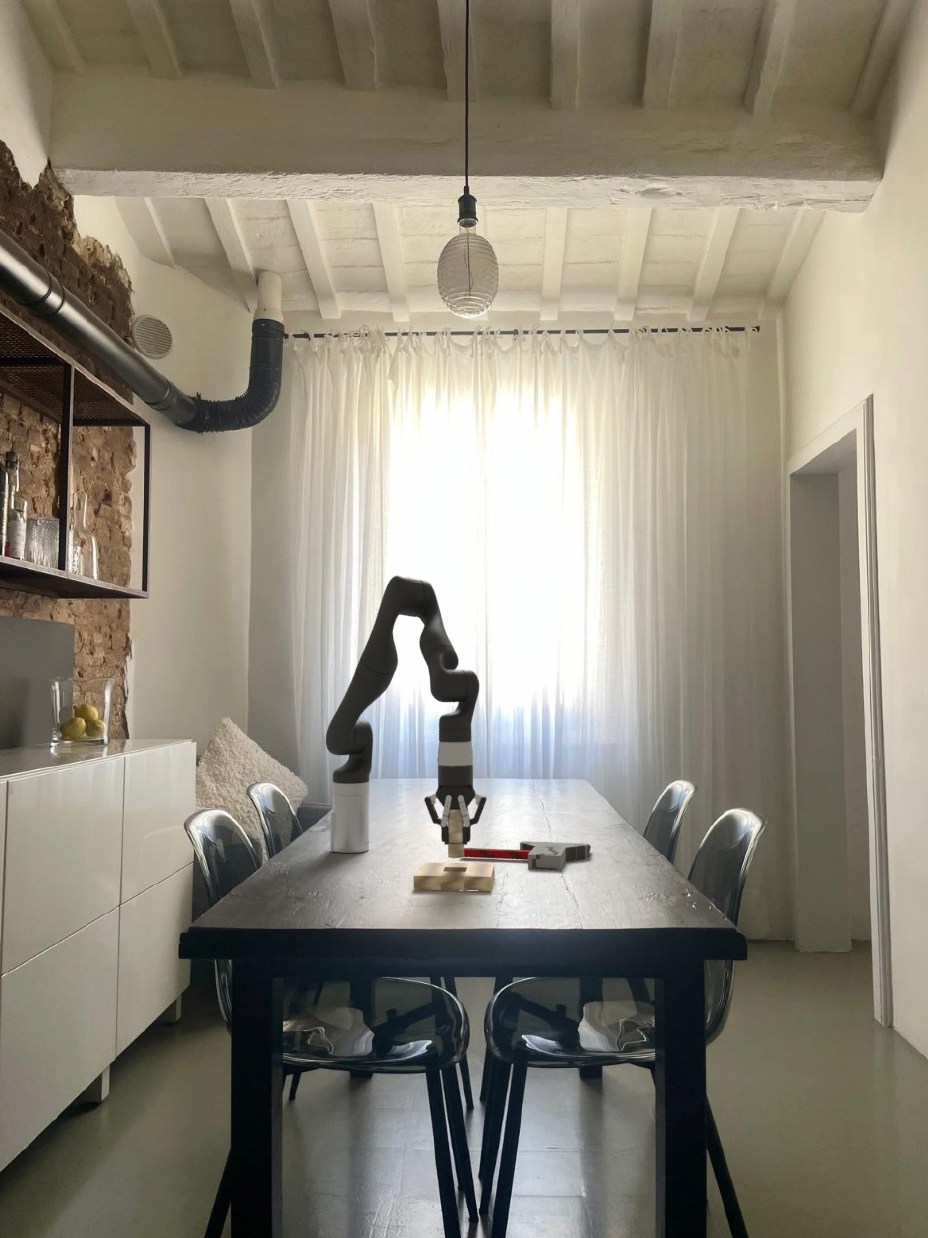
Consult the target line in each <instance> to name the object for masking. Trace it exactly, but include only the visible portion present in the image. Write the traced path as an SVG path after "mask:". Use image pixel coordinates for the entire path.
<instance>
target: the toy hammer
mask: <svg viewBox="0 0 928 1238" xmlns="http://www.w3.org/2000/svg"><path fill="white" fill-rule="evenodd" d="M591 849H592V845H591V844H590V843H582V842H581V843H579V842H578V843H577V842H556V841H555V842H553V841H552V842H551V841H548V842H547V841H527V840H526V841H525V840H524V841H520V842H519V849H503V848H480V847H479V848H477V847H476V848H475V847H464V857H463V858H477V859H479V858H481V859H502V860H503V859H505V860H522V861H525V860H527V869H528V870H538V869H540V870H541V871H561V870H562V869H563V867H564V866H565V864H566V863H567V862H574V861H575V862H576V861H583V860H588V859H589V857H590V852H591ZM565 862H566V863H565Z"/></svg>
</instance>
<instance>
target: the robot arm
mask: <svg viewBox="0 0 928 1238" xmlns="http://www.w3.org/2000/svg"><path fill="white" fill-rule="evenodd" d="M399 615H401V616H405V617H410V618H411V617H412V618H419V620H420V621H421V622H422V624H423V627H422V631H421V634H420V636H419V641H418V642H419V645H418V646H419V650H420V653H421V655H422V657H423V659H424V661H425V663H426V666H427V668H428V669H427V670H428V675H429V689H430V694H431V696H432V697H433V698H434V699H435V700H436V701H438V702H440V703H458V704H457V706H456V709H455V710H454V711H452V712H448V713H445V714H442V715H440V716H439V719H438V749H437V759H436V760H437V789H436V791H435V793H434V794H432V795H426V796H425V797H424V799H423V800H424V803H425V806H426V809H427V811H428V814H429V817H430V818H431V822H432V823H433V824H434V825H438V826H440V828H441V833H440V834H441V842H442V843H444V846H448V815H449V810H461V814H462V817H463V821H464V827H463V837H464V846H466V845H468V843H470V842H471V840H472V839H471V836H472V835H471V831H472V830H471V828H472V827H471V826H473V825H478V823H479V821H480V818H481V816H482V813H483V811H484V809H485V805H486V802H487V800H488V798H487V796H486V795H480V794H478V793H476V791H475V789H474V754H473V753H474V750H473V746H472V745H473V744H472V739H473V738H472V736H473V735H472V721H473V717H474V712H475V708H476V704H477V700H478V697H479V693H480V681H479V678H478V675H477V674H476V672H474V671H473V670H471V669H458V666H459V660H460V659H459V657H458V656H459V655H458V654H457V652H456V650H455V647H454V646H453V643H452V642H451V640H450V638H449V636H448V634H447V631H446V627H445V626H444V625H445V624H444V620H443V617H442V612H441V609H440V606H439V603H438V598H437V595H436V592H435V589H434V587H433V585H432V584H431V583H430V581H428V580H424V579H421V578H417V577H411V576H406V575H399V574H398V575H394V576H393V577H391V579H390V580H389V582H388V583H387V585H386V587H385V590H384V593H383V596H382V598H381V603H380V606H379V609H378V611H377V613H376V617H375V620H374V624H373V628H372V630H371V632H370V634H369V637H368V639H367V642H366V644H365V647H364V649H363V651H362V653H361V655H360V658H359V660H358V662H357V665H356V667H355V670H354V673H353V675H352V678H351V681H350V683H349V685H348V688H347V690H346V691H345V694H344V695H343V698H342V700H341V702H340V704H339V706H338V708H337V709H336V711H335V713H334V715H333V716H332V719H331V720H330V722H329V725H328V727H327V730H326V734H325V746H326V749H327V751H328V752H329V753H330V754H332V755H333V756H348V759H347V760H346V762H345V763H344V764H342V766H339V767H338V768H336V769H334V771H333V773H332V812H331V813H330V829H329V830H330V843H329V845H330V847H329V849H330V852H333V853H334V852H335V853H342V854H344V853H345V854H346V853H347V854H354V853H364V852H367V851H369V849H370V774H371V771H372V765H373V752H374V751H373V748H374V733H373V729H372V725H371V723H370V722H369V721H368V720H367V719H366V718H361V716H362V714H363V713H364V712H365V711H366V710H367V709H368V708H369V707H370V706H371V705H372V704H373V703H375V701H377V700H378V699H379V698H380V697H381V696H382V695H383V694H384V693H385V692H386V691H387V689H388V688H389V686H390V685H391V682H392V679H393V677H394V675H395V673H396V672H397V671H396V670H397V668H398V665H399V656H398V651H397V646H396V642H395V639H394V628H395V623H396V621H397V619H398V617H399ZM474 799H475V805H476V806H477V808H476V811H475V813H474V816H473V817H472V818H470V812H469V808H468V807H469V805H470V804H471V802H473V800H474ZM437 800H438V801H439V803H440V805H442V807H443V811H442V816H441V817H439V815H438V812H437V809H436V807H435V804H437V802H436V801H437ZM463 810H464V811H463Z"/></svg>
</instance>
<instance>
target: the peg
mask: <svg viewBox="0 0 928 1238" xmlns="http://www.w3.org/2000/svg"><path fill="white" fill-rule="evenodd" d="M463 811H464V810H463ZM463 827H464V821H463V817H462V814H461V810H449V815H448V845H447V857H448V858H450V859H460V858H461V859H462V858H465V857H464V848H465V845H464V837H463Z"/></svg>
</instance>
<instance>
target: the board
mask: <svg viewBox="0 0 928 1238" xmlns="http://www.w3.org/2000/svg"><path fill="white" fill-rule="evenodd" d="M495 877H496V875H495V863H494V862H493V863H489V862H488V863H486V862H483V863H481V862H479V863H478V862H468V863H467V862H423V861H422V862H421V863H420V865H419V867H418V868H417V870H416V871H415V872H414V874H413V890H414V889H415V890H414V891H419V890H478V891H477V892H481V891H491V892H492V890H491V889H493V886H492V885H494V881H495Z"/></svg>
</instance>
